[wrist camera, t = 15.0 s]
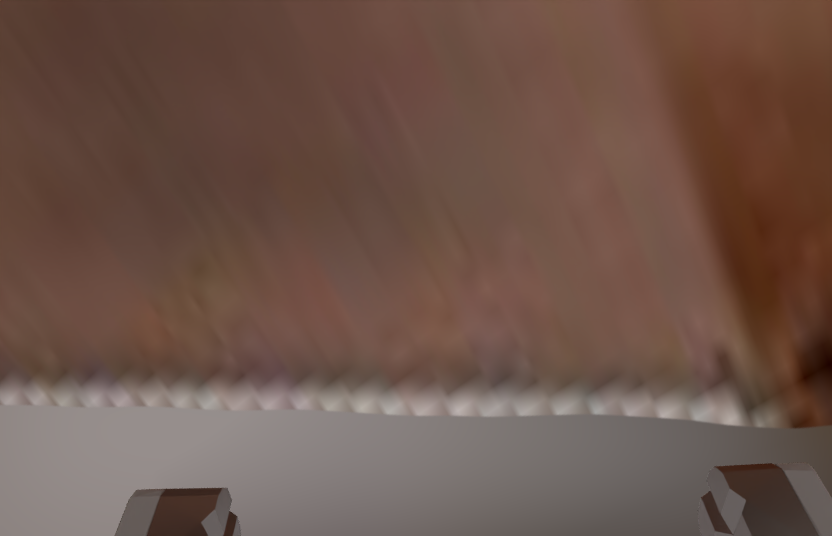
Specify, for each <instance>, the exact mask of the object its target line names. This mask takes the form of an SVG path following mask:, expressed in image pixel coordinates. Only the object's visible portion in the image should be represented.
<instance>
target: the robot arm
mask: <svg viewBox="0 0 832 536" xmlns="http://www.w3.org/2000/svg"><path fill="white" fill-rule="evenodd" d="M707 483H708V486H709V488H710V491H709V492H708V493H707V494H705V495H704V496H703V497H701V501H700V505H699V509H698V519H699V529H700V533H701V536H832V498H831V496H830V494H829V493H828V491H827V490H826V488H825V486H824V485H823V483H822V481H821V480H820V478H819V476H818V475H817V473H816V472H815V470H814V468H812V467H811V466H810V465H809V464H808V463H787V464H772V463H770V464H751V465H734V466H717V467H713V468H712V469H711V470H710V471H709V474H708V477H707ZM231 502H232V499H231V496H230V494H229V491H228V488H189V489H146V490H136V491H135V492H134V494H133V495H132V496H131V497H130V499H129V501H128V503H127V506H126V509H125V511H124V513H123V516H122V518H121V521H120V523H119V526H118V528H117V531H116V534H115V536H241V530H240V524H239V520H238V517H237V516H236V515H234V514H233V513H232V512H230V511H229V510H230V506H231Z"/></svg>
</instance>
